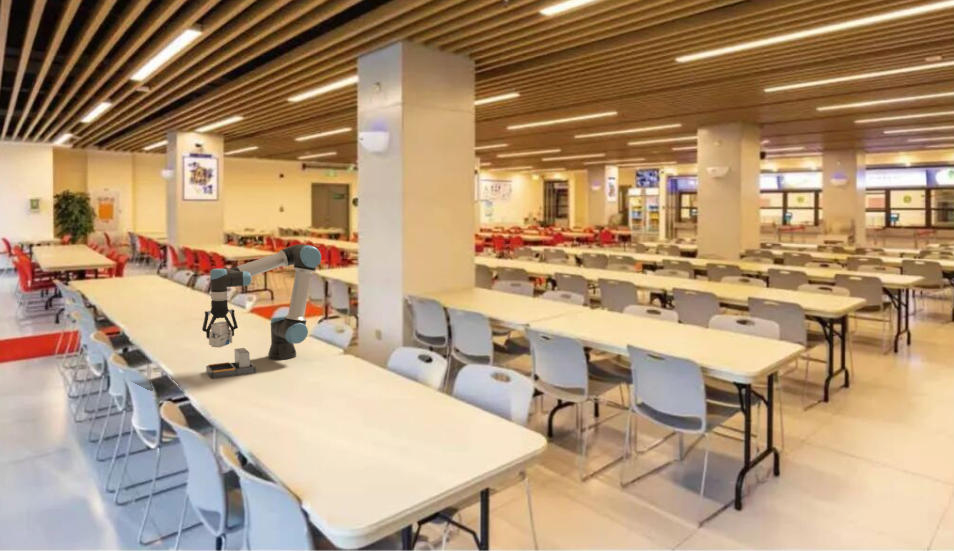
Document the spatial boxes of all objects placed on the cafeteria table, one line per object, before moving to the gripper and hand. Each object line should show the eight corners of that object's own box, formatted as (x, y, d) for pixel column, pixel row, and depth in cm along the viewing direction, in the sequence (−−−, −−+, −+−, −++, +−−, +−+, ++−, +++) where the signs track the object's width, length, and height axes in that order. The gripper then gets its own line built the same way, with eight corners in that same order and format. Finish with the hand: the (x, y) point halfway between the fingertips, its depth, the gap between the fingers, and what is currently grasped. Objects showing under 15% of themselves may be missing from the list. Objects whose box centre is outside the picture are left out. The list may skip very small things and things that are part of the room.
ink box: (221, 343, 308) (220, 320, 306) (230, 344, 307) (229, 321, 305) (211, 347, 299) (210, 324, 298) (220, 347, 298) (219, 324, 297)
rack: (249, 366, 319) (248, 346, 318) (255, 373, 307) (255, 351, 306) (206, 371, 308) (205, 350, 306) (211, 379, 295) (210, 356, 294)
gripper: (240, 297, 310) (241, 339, 312) (194, 300, 298) (195, 344, 300) (243, 299, 303) (244, 342, 306) (196, 302, 291) (198, 347, 294)
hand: (220, 343), depth 303 cm, fingers closed on ink box, 9 cm apart
